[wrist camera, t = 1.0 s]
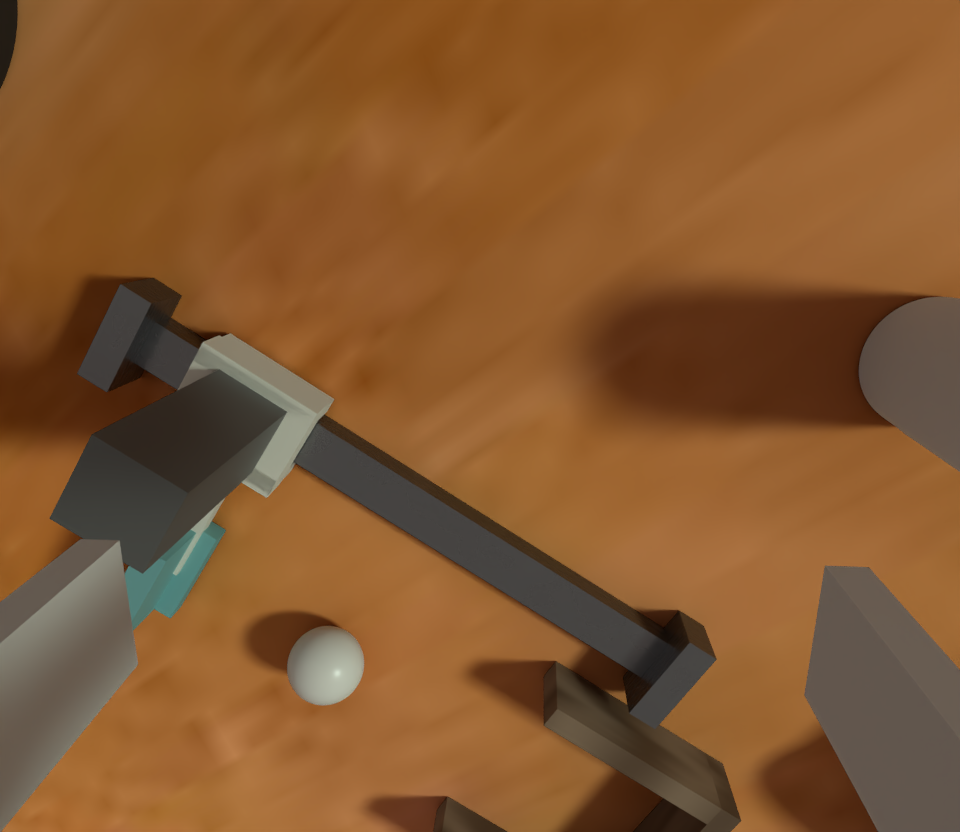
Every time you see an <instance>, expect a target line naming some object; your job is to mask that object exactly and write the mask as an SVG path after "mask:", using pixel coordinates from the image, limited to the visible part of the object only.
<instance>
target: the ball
mask: <svg viewBox="0 0 960 832" xmlns="http://www.w3.org/2000/svg"><path fill="white" fill-rule="evenodd" d="M363 670H364V656H363V652H362V649H361V647H360V645H359V643H358V641H357V640H356V639H355V637H354V636H353V635H351V634H350V633H349V632H347V631H346V630H344V629H342V628H339V627H335V626H321V627H317V628H314V629H312V630H310V631H308V632H306V633H305V634H303V635H302V636H301V637H300V638H299V639H298V640H297V642H296V643H295V644H294V646H293V648H292V649H291V652H290V654H289V658H288V663H287V674H288V678H289V682H290V684H291V686H292V688H293V689H294V691H295V692H296V693H297V694H298V696H300V697H301V698H302V699H304V700H305V701H307V702H309V703H312V704H316V705H330V704H335V703H338V702H340V701H342V700H344V699H345V698H347V697H348V696H349V695H350V694H351V693H352V692H353V691H354V690H355V689H356V687H357V686H358V684H359V682H360V680H361V678H362V674H363Z"/></svg>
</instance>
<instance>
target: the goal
mask: <svg viewBox="0 0 960 832" xmlns="http://www.w3.org/2000/svg"><path fill="white" fill-rule="evenodd" d="M544 726H545V727H547V728H549V729H550V730H552V731H554V732H555V733H557V734H559V735H560V736H562V737H564V738H565V739H567V740H568V741H570V742H572V743H573V744H575V745H577V746H578V747H580V748H582V749H583V750H585V751H587V752H588V753H590V754H592V755H593V756H595V757H596V758H598V759H600V760H601V761H603V762H605V763H606V764H608V765H610V766H611V767H613V768H615V769H616V770H618V771H620V772H621V773H623V774H625V775H626V776H628V777H629V778H631V779H633V780H634V781H636V782H638V783H639V784H641V785H643V786H644V787H646V788H648V789H649V790H651V791H653V792H654V793H656V794H658V795H659V796H661V797H662V798H664V799H663V800H662V801H661V802H660V803H659V804H658V805H657V806H656V807H655V809H654V810H653V811H652V812H651V813H650V814H649V815H648V816H647V817H646V818H645V819H644V821H643V822H642V823H641V824H640V825H639V826H638V827H637V828H636V829H635V830H634V831H633V832H731V831H732V830H733V829H734V828H735V827H736V826H737V825H738V824H739V823H740V821H741V819H740V816H739V813H738V810H737V806H736V803H735V800H734V797H733V794H732V791H731V788H730V785H729V782H728V778H727V775H726V772H725V769H724V766H723V764H722V763H720V762H719V761H717V760H715V759H714V758H712V757H711V756H709V755H707V754H706V753H704V752H702V751H701V750H699V749H698V748H696V747H694V746H693V745H691V744H690V743H688V742H686V741H685V740H683V739H681V738H680V737H678V736H677V735H675V734H673V733H672V732H670V731H668V730H667V729H665V728H664V727H662V726H660V725H658V726H657V728H656V729H654V728H652V727H651V726H649V725H647V724H646V723H644V722H642V721H641V720H639V719H638V718H636V717H634V716H633V715H631V714H629V710H628V705H626V704H625V703H623V702H621V701H620V700H618V699H616V698H615V697H613V696H612V695H610V694H608V693H607V692H605V691H603V690H602V689H600V688H599V687H597V686H595V685H594V684H592V683H590V682H589V681H587V680H586V679H584V678H582V677H581V676H579V675H577V674H576V673H574V672H573V671H571V670H569V669H568V668H566V667H564V666H563V665H561V664H560V663H558V662H555V663H554V664H553V666H552V667H551V668H550V669H549V671H548V672H547V673H546V674H545V676H544ZM433 832H507V831H505V830H503V829H502V828H500V827H498V826H496V825H495V824H493V823H491V822H490V821H488V820H486V819H485V818H483V817H481V816H479V815H478V814H476V813H474V812H473V811H471V810H469V809H468V808H466V807H464V806H462V805H461V804H459V803H457V802H456V801H454V800H452V799H451V798H449V797H447V798H446V799H445V801H444V802H443V803H442V804H441V806H440V807H439V808H438V810H437V813H436V819H435V824H434V830H433Z"/></svg>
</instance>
